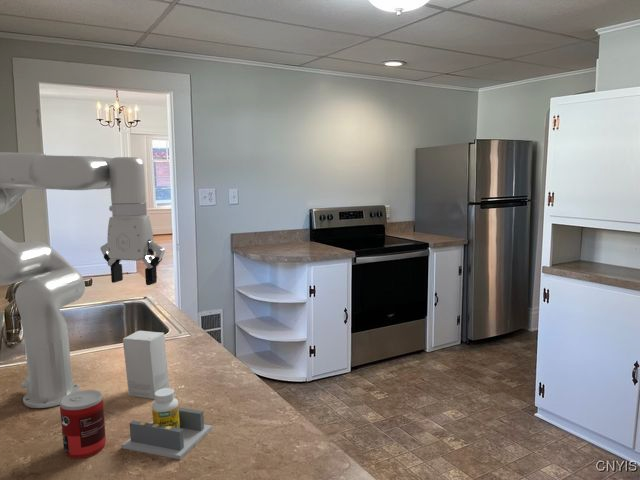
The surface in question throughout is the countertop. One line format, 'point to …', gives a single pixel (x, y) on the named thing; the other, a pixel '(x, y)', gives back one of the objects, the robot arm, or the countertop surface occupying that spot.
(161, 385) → the skincare box
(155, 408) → the supplement bottle
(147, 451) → the socket block
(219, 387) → the countertop surface
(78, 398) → the canned food
